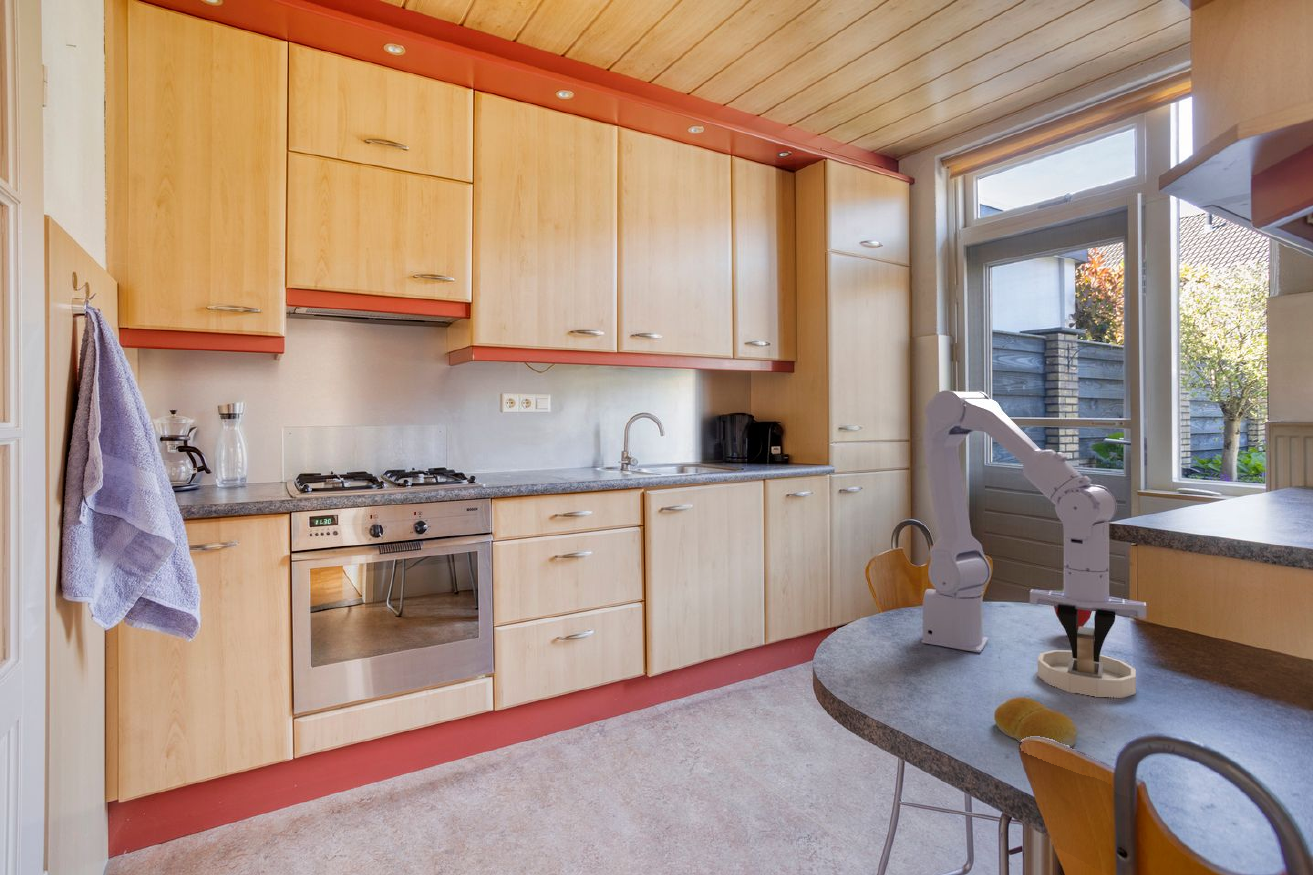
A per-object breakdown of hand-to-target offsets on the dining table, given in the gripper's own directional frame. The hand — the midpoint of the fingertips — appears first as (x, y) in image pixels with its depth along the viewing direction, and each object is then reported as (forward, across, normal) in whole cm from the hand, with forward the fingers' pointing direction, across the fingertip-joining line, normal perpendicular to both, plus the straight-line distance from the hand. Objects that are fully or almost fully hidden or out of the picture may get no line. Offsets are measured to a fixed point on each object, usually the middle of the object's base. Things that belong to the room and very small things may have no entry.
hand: (1085, 658), depth 100 cm
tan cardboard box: (+3, 0, 0) cm, 3 cm away
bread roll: (+4, -4, -23) cm, 24 cm away
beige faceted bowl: (+3, 0, 0) cm, 3 cm away
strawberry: (+4, -3, +23) cm, 23 cm away
